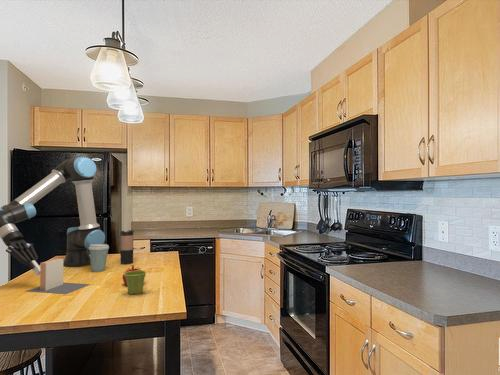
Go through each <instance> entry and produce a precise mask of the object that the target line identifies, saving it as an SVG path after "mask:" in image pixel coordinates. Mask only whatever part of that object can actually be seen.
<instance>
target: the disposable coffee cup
mask: <svg viewBox="0 0 500 375" xmlns="http://www.w3.org/2000/svg"><path fill="white" fill-rule="evenodd" d="M109 249H110V246H109V244H107V243H103V244H91V245H90V246H89V250H88V252H89V255H90V260H91V264H90V265H91V266H90V267H91V271H92V272H94V273H101V272H104V271H105V269H106V265H107V259H108V253H109Z"/></svg>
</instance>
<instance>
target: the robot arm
mask: <svg viewBox="0 0 500 375" xmlns="http://www.w3.org/2000/svg"><path fill="white" fill-rule="evenodd" d="M96 173H97V164H96V163H95V162H94V161H93V160H92V159H91V158H90V157H86V156H85V157H84V156H83V157H82V156H81V157H75V158H74V157H73V158H67V159H66V160H64V161H62V162H61V163H60V164H58V165H57V166H55V168H53V169H52V170H51V173H50V174H48V175H47V176H45V177H44V178H43V179H41V180H40V181H38V182H37V183H36V184H34V185H33V186H31V188H29V189H27V190H26V191H25V192H23V193H22V194H21V195H19V196H18V197H16V198H15V199H14V200H13V201H11V202H9V203H8V204H4V205H2V206H1V207H0V239H1V240H2V242H3V243H4V244H5V246H6V247H7V248H6V249H5V252H6V253H9V254H10V255H11V256H12V257H13V258H14V259H16V261H17V262H18V263H20V264H21V265H24V266H25V267H26V266H28V267H29V269H30V270H32V271H33V272H34V274H35V275H36V276H39V275H40V264H39V262H37V260H38V259H39V256H38V254H37V252H36V250H35V248H34V243H32V242H30V243H27V241H26V240H24V235H23V234H22V233H21V232H20V231H19V230H20V229H18V227H17V226H16V224H17V223H20V222H22V221H25V220H28V219H31V218H33V217H36V215H37V210H36V207H35V206H34V204H35V203H37V202H38V201H39V200H41V199H42V198H43V197H45V196H46V195H47V194H49V193H50V192H52V191H53V190H54V189H56V188H57V187H58V186H59V185H60V184H64V183H66V182H67V181H69V180H71V183H72V184H74V186H75V194H76V200H77V201H76V202H77V208H78V215H79V223H80V225H79V226H75V227H74V226H72V227H68V229H66V230H67V231H66V254H65V257H64V258H63V267H64V268H65V267H66V268H67V267H68V268H75V267H76V268H77V267H84V266H85V267H86V266H88V265H91V260H90V252H89V246H90V245H91V244H105V241H106V235H105V233H104V231H102V229H101V226H100V223H98V222H97V216H96V215H97V214H96V207H95V200H94V194H93V184H92V183H93V181H94V180H95V177H94V176H95V174H96Z"/></svg>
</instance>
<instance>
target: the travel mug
mask: <svg viewBox="0 0 500 375" xmlns="http://www.w3.org/2000/svg"><path fill="white" fill-rule="evenodd" d="M119 241H120V243H119V244H120V246H119V248H120V249H119V252H120V253H119V254H120V265H131V264H132V265H133V264H134V230H127V231H124V230H121V231H120V240H119Z"/></svg>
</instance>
